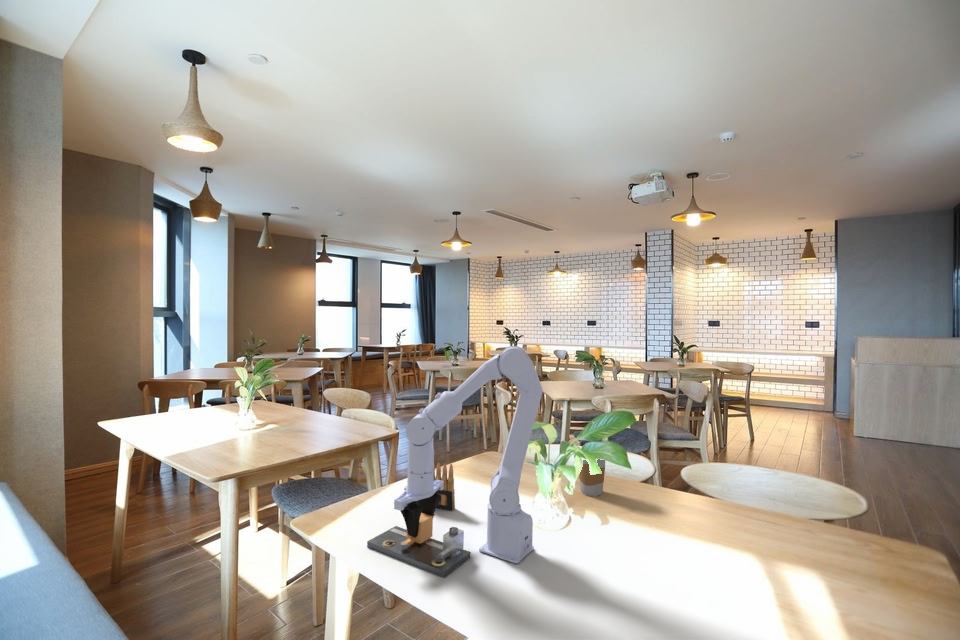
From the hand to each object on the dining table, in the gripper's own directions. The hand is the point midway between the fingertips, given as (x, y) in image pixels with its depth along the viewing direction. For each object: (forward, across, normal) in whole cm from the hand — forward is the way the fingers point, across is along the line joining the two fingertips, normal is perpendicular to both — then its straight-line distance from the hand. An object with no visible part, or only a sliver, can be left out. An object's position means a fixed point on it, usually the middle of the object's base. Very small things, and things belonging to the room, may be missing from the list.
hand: (419, 531), depth 101 cm
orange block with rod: (+1, +2, 0) cm, 2 cm away
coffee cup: (+3, -52, +21) cm, 56 cm away
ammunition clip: (+3, -18, -10) cm, 21 cm away
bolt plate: (+3, +2, +2) cm, 4 cm away
